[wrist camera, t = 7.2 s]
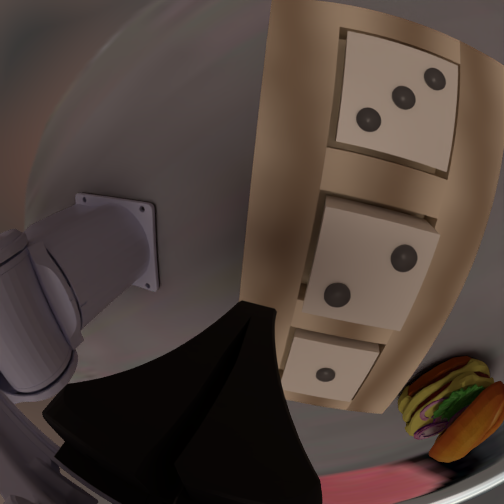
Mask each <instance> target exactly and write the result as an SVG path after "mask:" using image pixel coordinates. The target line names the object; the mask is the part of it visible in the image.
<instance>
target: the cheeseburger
mask: <svg viewBox="0 0 504 504" xmlns="http://www.w3.org/2000/svg"><path fill="white" fill-rule="evenodd" d="M398 409H399V411H400V412H401V413H402V414H403V420H404V421H405V422H406V427H405V430H406V432H407V433H408V434H409V435H411V436H414V438H415V439H425V438H429V437H432V436H434V435H437V434H440V435H439V436H438V437H437V439H436V441H435V443H434V446H433V447H432V448H431V450H430V451H429V456H430V457H432V458H434V459H436V460H437V461H439V462H447V463H448V462H451V461H454V460H458V459H460V458H462V457H464V456H465V455H466V454H467V453H468V452H469V451H471V450H472V449H473V448H474V447H476V446H477V445H479V444H480V443H481V442H483V441H484V440H485V439H487V438H488V437H489V436H490V435H491V434H493V433H494V432H495V431H496V430H497V428H498V427H499V426H500V425H501V424H502V422H503V420H504V384H503V383H502V382H501V381H498V382H495V383H494V380H493V378H492V377H491V378H490V373H489V368H488V367H487V365H486V364H485V363H484V362H482V361H480V360H477V359H473V358H471V357H468V356H462V357H455V358H452V359H450V360H448V361H446V362H444V363H442V364H440V365H438V366H436V367H435V368H433V369H432V370H430V371H429V372H427V373H425V374H424V375H422V376H421V377H420V378H418V379H417V380H416V381H415V382H414V383H413V384H411V385H410V386H409V385H408V386H407V387H405V389H404V390H403V392H402V394H401V395H400V397H399V399H398Z"/></svg>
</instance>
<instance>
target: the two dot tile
mask: <svg viewBox="0 0 504 504" xmlns="http://www.w3.org/2000/svg"><path fill="white" fill-rule="evenodd" d="M439 238H440V234H439V233H438V232H437V231H436V230H435V229H434V228H433V227H432V226H431V225H430V224H429V223H428V222H427V221H426V220H425V219H422V218H419V217H415V216H411V215H408V214H404V213H400V212H397V211H393V210H389V209H385V208H381V207H377V206H373V205H369V204H365V203H360V202H356V201H352V200H347V199H343V198H338V197H334V196H329V195H326V199H325V204H324V209H323V214H322V219H321V224H320V229H319V234H318V239H317V243H316V248H315V252H314V257H313V261H312V266H311V270H310V274H309V279H308V283H307V287H306V292H305V297H304V302H303V308H302V312H304V313H308V314H313V315H318V316H322V317H327V318H332V319H337V320H342V321H347V322H352V323H357V324H363V325H368V326H373V327H379V328H385V329H390V330H396V331H400V330H401V329H402V327H403V325H404V323H405V321H406V319H407V316H408V314H409V312H410V310H411V308H412V306H413V304H414V302H415V299H416V297H417V295H418V293H419V290H420V288H421V286H422V283H423V281H424V278H425V276H426V273H427V271H428V268H429V266H430V263H431V260H432V258H433V255H434V252H435V249H436V247H437V244H438V241H439Z"/></svg>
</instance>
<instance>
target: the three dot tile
mask: <svg viewBox="0 0 504 504" xmlns="http://www.w3.org/2000/svg"><path fill="white" fill-rule="evenodd" d="M457 86H458V66H457V65H455V64H452V63H450V62H448V61H446V60H443V59H441V58H438V57H436V56H433V55H431V54H428V53H426V52H423V51H420V50H417V49H414V48H412V47H409V46H405V45H402V44H399V43H396V42H392V41H389V40H385V39H381V38H378V37H374V36H369V35H365V34H360V33H356V32H351V31H348V32H347V38H346V44H345V54H344V66H343V77H342V86H341V95H340V104H339V112H338V119H337V127H336V134H335V141H337V142H342V143H347V144H351V145H356V146H360V147H364V148H368V149H372V150H376V151H380V152H384V153H388V154H391V155H395V156H398V157H402V158H405V159H408V160H412V161H415V162H418V163H421V164H424V165H427V166H430V167H433V168H436V169H439V170H442V171H445V172H447V168H448V163H449V157H450V151H451V145H452V139H453V132H454V123H455V114H456V103H457Z"/></svg>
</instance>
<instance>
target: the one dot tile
mask: <svg viewBox="0 0 504 504" xmlns="http://www.w3.org/2000/svg"><path fill="white" fill-rule="evenodd" d="M378 355H379V345H378V343H373V342H368V341H362V340H356V339H351V338H345V337H340V336H335V335H330V334H325V333H320V332H315V331H310V330H306V329H301V328H297V327H296V328H295V331H294V335H293V339H292V342H291V346H290V349H289V353H288V356H287V360H286V363H285V367H284V370H283V374H282V378H281V383H282V388H283V390H287V391H291V392H296V393H301V394H306V395H311V396H316V397H322V398H328V399H334V400H340V401H347V402H350V401H351V399H352V398H353V396H354V395H355V393H356V392H357V390H358V388H359V387H360V385H361V384H362V382H363V380H364V379H365V377H366V375H367V374H368V372H369V370H370V369H371V367H372V365H373V364H374V362H375V360H376V358H377V356H378Z"/></svg>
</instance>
